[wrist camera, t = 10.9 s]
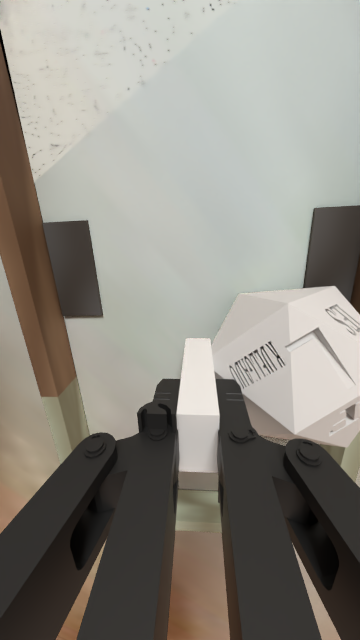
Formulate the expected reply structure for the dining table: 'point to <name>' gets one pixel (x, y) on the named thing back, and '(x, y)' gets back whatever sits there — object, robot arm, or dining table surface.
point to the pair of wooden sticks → (84, 300)
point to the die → (294, 362)
